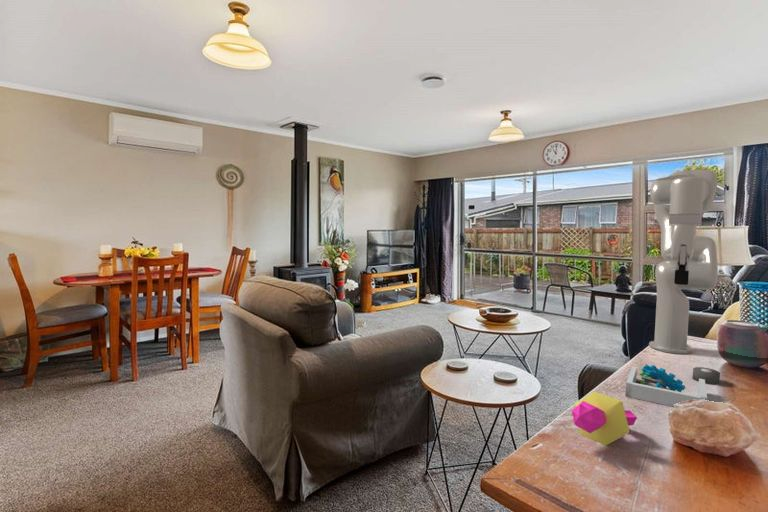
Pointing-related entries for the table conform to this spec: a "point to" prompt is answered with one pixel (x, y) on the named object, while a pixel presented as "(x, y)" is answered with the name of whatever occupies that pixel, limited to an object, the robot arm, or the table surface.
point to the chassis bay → (660, 391)
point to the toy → (602, 418)
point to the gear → (660, 378)
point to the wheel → (706, 375)
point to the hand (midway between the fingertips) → (681, 284)
